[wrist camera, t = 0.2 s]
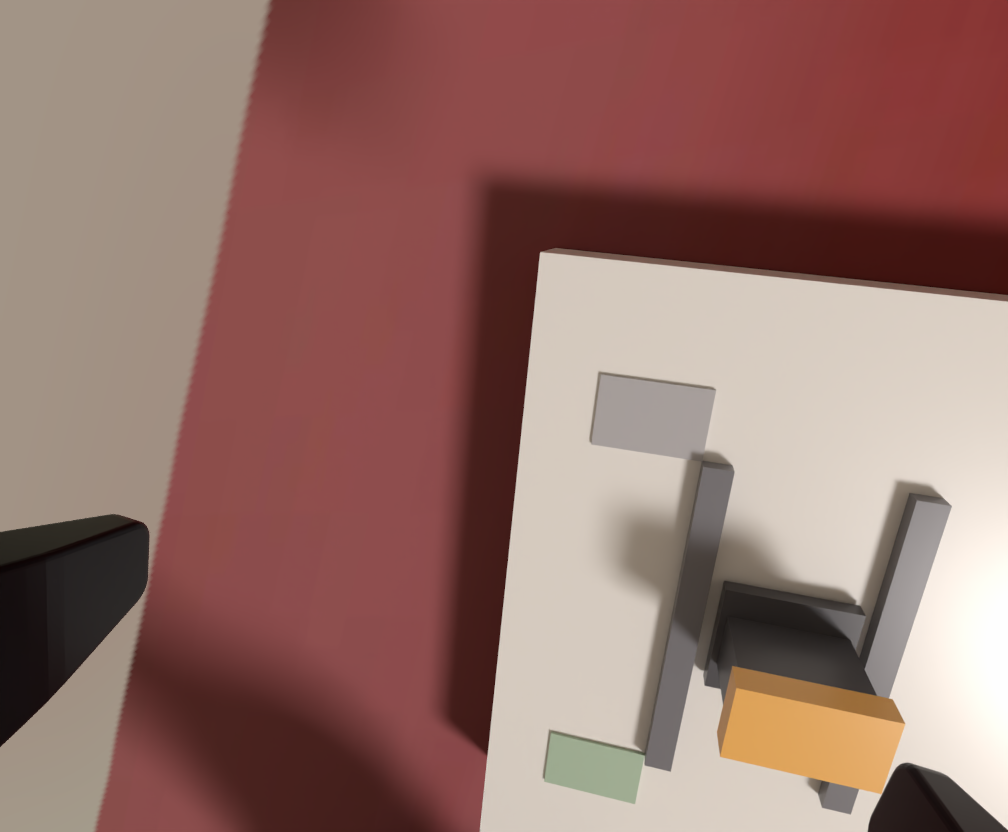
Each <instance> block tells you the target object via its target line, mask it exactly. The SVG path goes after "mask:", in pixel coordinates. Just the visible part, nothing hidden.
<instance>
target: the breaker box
mask: <svg viewBox="0 0 1008 832" xmlns="http://www.w3.org/2000/svg"><path fill="white" fill-rule="evenodd" d="M724 581H730V582H735V583H741V584H746V585H751V586H757V587H762V588H767V589H773V590H778V591H784V592H789V593H794V594H800V595H805V596H811V597H816V598H821V599H827V600H832V601H837V602H843V603H848V604H854V605H859V606H861V608H862V610H863V612H864V613H865V615H866V618H865V621H864V624H863V628H862V631H861V634H860V638H859V641H858V644H857V648H856V653H857V655H858V657H859V659H860V661H861V663H862V665H863V667H864V669H865V671H866V674H867V676H868V678H869V680H870V682H871V684H872V686H873V688H874V690H875V692H876V694H877V696H880V697H885V698H889V699H893V701H894V703H895V705H896V706H897V708H898V710H899V712H900V714H901V716H902V718H903V720H904V722H905V727H904V730H903V733H902V736H901V738H900V741H899V744H898V747H897V750H896V753H895V756H894V759H893V762H892V765H891V768H890V771H889V774H888V776H887V779H886V782H885V785H884V788H883V791H884V789H885V787H886V785H887V783H888V781H889V779H890V777H891V775H892V773H893V771H894V770H895V768H896V767H897V766H899V765H900V764H902V763H907V762H908V763H912V764H916V765H919V766H922V767H925V768H929V769H932V770H935V771H938V772H941V773H943V774H945V775H947V776H949V777H950V778H951V779H952V780H953V781H954V782H956V783H957V784H958V785H959V786H960V787H961V788H962V789H963V790H964V791H965V792H967V793H968V794H969V795H970V796H971V797H972V798H973V799H974V800H975V801H976V802H978V803H979V804H980V805H981V806H982V807H983V808H984V809H985V810H986V811H988V812H989V813H990V814H991V815H992V816H993V817H994V818H995V819H996V820H997V821H999V822H1000V823H1001V824H1002V825H1003V826H1004V827H1005V828H1006V829H1007V830H1008V295H1002V294H993V293H983V292H974V291H964V290H954V289H945V288H935V287H926V286H916V285H907V284H897V283H887V282H878V281H868V280H859V279H849V278H840V277H830V276H820V275H811V274H801V273H792V272H782V271H773V270H763V269H753V268H744V267H734V266H725V265H715V264H706V263H696V262H686V261H677V260H667V259H658V258H648V257H639V256H629V255H619V254H610V253H600V252H591V251H581V250H572V249H562V248H553V249H550V250H546V251H542V252H540V259H539V268H538V278H537V288H536V297H535V307H534V316H533V326H532V335H531V345H530V355H529V364H528V374H527V383H526V393H525V403H524V412H523V422H522V431H521V441H520V450H519V460H518V470H517V479H516V489H515V498H514V508H513V517H512V527H511V537H510V546H509V556H508V565H507V575H506V584H505V594H504V604H503V613H502V623H501V632H500V642H499V651H498V661H497V671H496V680H495V690H494V699H493V709H492V718H491V728H490V738H489V747H488V757H487V766H486V776H485V786H484V795H483V805H482V814H481V824H480V832H868V824H869V820H870V817H871V815H872V813H873V811H874V809H875V807H876V805H877V803H878V801H879V799H880V797H881V795H882V794H878V793H874V792H870V791H865V790H861V789H857V788H852V787H848V786H844V785H839V784H835V783H831V782H826V781H822V780H818V779H814V778H809V777H805V776H801V775H796V774H792V773H788V772H783V771H779V770H775V769H770V768H766V767H762V766H757V765H753V764H749V763H744V762H740V761H736V760H731V759H727V758H723V757H720V753H719V746H718V738H717V729H718V725H719V721H720V716H721V712H722V708H723V701H722V695H721V689H718V688H713V687H708V686H705V685H704V677H703V673H704V669H705V664H706V660H707V655H708V651H709V646H710V641H711V637H712V632H713V628H714V623H715V619H716V614H717V610H718V605H719V601H720V596H721V591H722V587H723V582H724ZM883 791H882V793H883Z"/></svg>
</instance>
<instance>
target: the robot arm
mask: <svg viewBox="0 0 1008 832" xmlns="http://www.w3.org/2000/svg"><path fill="white" fill-rule="evenodd" d="M148 559H149V531H148V528H147V526H146V525H145V524H144V523H142V522H140V521H137V520H133V519H131V518H127V517H124V516H121V515H116V514H111V515H104V516H98V517H92V518H85V519H79V520H73V521H66V522H60V523H54V524H48V525H41V526H35V527H29V528H22V529H16V530H10V531H4V532H0V747H1V746H2V745H3V744H4V743H5V742H6V741H7V740H8V739H9V738H10V737H11V736H12V735H13V734H14V733H15V732H17V731H18V730H19V729H20V728H21V727H22V726H23V725H24V724H25V723H26V722H27V721H28V720H29V719H30V718H31V717H32V716H33V715H34V714H35V713H36V712H37V711H38V710H39V709H40V708H41V707H42V706H43V705H44V704H46V703H47V702H48V701H49V699H50V698H51V697H52V696H53V695H54V694H55V693H56V692H57V691H58V690H59V689H60V688H61V687H62V685H63V684H64V683H65V682H66V681H67V680H68V679H69V678H70V677H71V676H72V674H73V673H74V672H75V671H76V670H77V669H78V668H79V667H80V666H81V664H82V663H83V662H84V661H85V660H86V659H87V658H88V656H89V655H90V654H91V653H92V652H93V651H94V650H95V649H96V647H97V646H98V645H99V644H100V643H101V642H102V641H103V640H104V638H105V637H106V636H107V635H108V634H109V633H110V632H111V631H112V629H113V628H114V627H115V626H116V625H117V624H118V623H119V622H120V620H121V619H122V618H123V617H124V616H125V615H126V613H128V611H129V610H130V609H131V608H132V607H133V606H134V605H135V604H136V602H137V601H138V600H139V599H140V597H141V596H142V594H143V592H144V590H145V588H146V584H147V580H148ZM868 832H1008V830H1007V829H1006V828H1005V827H1004V826H1003V825H1002V824H1001V823H1000V822H999V821H997V820H996V819H995V818H994V817H993V816H992V815H991V814H990V813H989V812H988V811H986V810H985V809H984V808H983V807H982V806H981V805H980V804H979V803H978V802H976V801H975V800H974V799H973V798H972V797H971V796H970V795H969V794H968V793H967V792H965V791H964V790H963V789H962V788H961V787H960V786H959V785H958V784H957V783H956V782H954V781H953V780H952V779H951V778H950V777H949V776H947V775H945V774H943V773H941V772H938V771H935V770H932V769H929V768H925V767H922V766H919V765H916V764H912V763H908V762H907V763H902V764H900V765H899V766H897V767H896V768H895V770H894V771H893V773H892V775H891V777H890V779H889V781H888V783H887V785H886V787H885V789H884V791H883V793H882V795H881V797H880V799H879V801H878V803H877V805H876V807H875V809H874V811H873V813H872V815H871V817H870V820H869V824H868Z"/></svg>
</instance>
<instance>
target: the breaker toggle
mask: <svg viewBox="0 0 1008 832" xmlns="http://www.w3.org/2000/svg"><path fill="white" fill-rule="evenodd" d="M865 618H866V615H865V613H864V612H863V610H862V608H861V606H859V605H854V604H848V603H843V602H837V601H832V600H827V599H821V598H816V597H811V596H805V595H800V594H794V593H789V592H784V591H778V590H773V589H767V588H762V587H757V586H751V585H746V584H741V583H735V582H730V581H724V582H723V587H722V591H721V596H720V601H719V605H718V610H717V614H716V619H715V623H714V628H713V632H712V637H711V641H710V646H709V651H708V655H707V660H706V664H705V669H704V673H703V677H704V685H705V686H708V687H713V688H718V689H721V695H722V701H723V708H722V712H721V716H720V721H719V725H718V729H717V738H718V746H719V753H720V757H723V758H727V759H731V760H736V761H740V762H744V763H749V764H753V765H757V766H762V767H766V768H770V769H775V770H779V771H783V772H788V773H792V774H796V775H801V776H805V777H809V778H814V779H818V780H822V781H826V782H831V783H835V784H839V785H844V786H848V787H852V788H857V789H861V790H865V791H870V792H874V793H878V794H882V791H883V788H884V785H885V782H886V779H887V776H888V774H889V771H890V768H891V765H892V762H893V759H894V756H895V753H896V750H897V747H898V744H899V741H900V738H901V736H902V733H903V730H904V727H905V722H904V720H903V718H902V716H901V714H900V712H899V710H898V708H897V706H896V705H895V703H894V701H893V699H889V698H885V697H880V696H877V694H876V692H875V690H874V688H873V686H872V684H871V682H870V680H869V678H868V676H867V674H866V671H865V669H864V667H863V665H862V663H861V661H860V659H859V657H858V655H857V653H856V648H857V644H858V641H859V638H860V634H861V631H862V628H863V624H864V621H865Z"/></svg>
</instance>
